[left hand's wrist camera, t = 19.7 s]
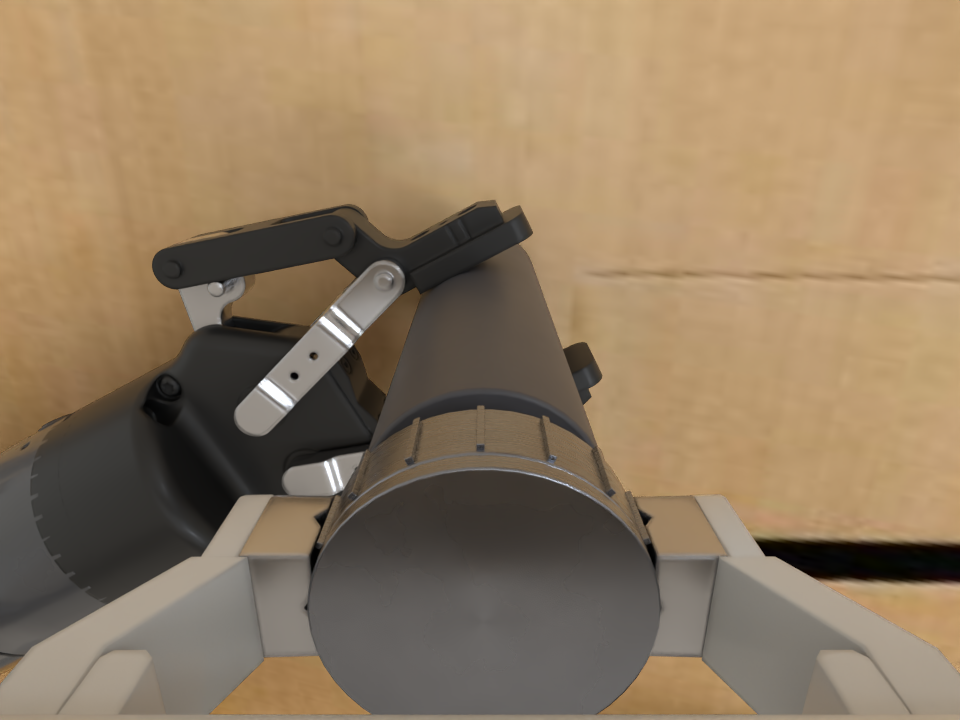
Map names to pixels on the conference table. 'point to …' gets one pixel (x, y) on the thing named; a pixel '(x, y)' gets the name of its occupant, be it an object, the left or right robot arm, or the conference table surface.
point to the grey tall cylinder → (484, 352)
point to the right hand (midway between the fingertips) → (558, 292)
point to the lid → (484, 573)
